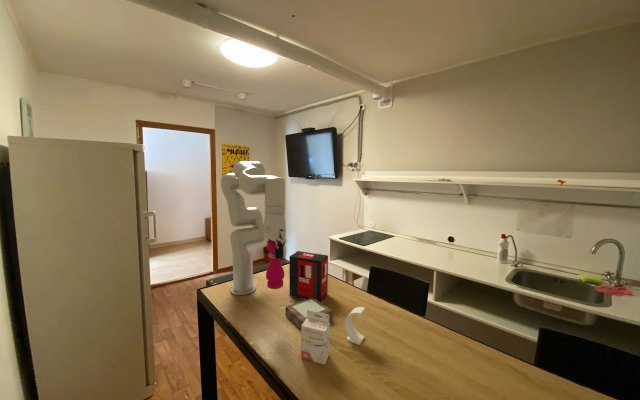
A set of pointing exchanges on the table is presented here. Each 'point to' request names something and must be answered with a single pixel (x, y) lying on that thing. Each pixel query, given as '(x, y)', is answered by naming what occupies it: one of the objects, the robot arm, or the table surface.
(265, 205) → the robot arm
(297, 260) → the cleaning product box
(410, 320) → the table surface
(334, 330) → the table surface
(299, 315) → the walnut frame
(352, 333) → the headphone stand
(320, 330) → the ink cartridge box
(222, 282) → the table surface
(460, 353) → the table surface
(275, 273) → the pepper mill
